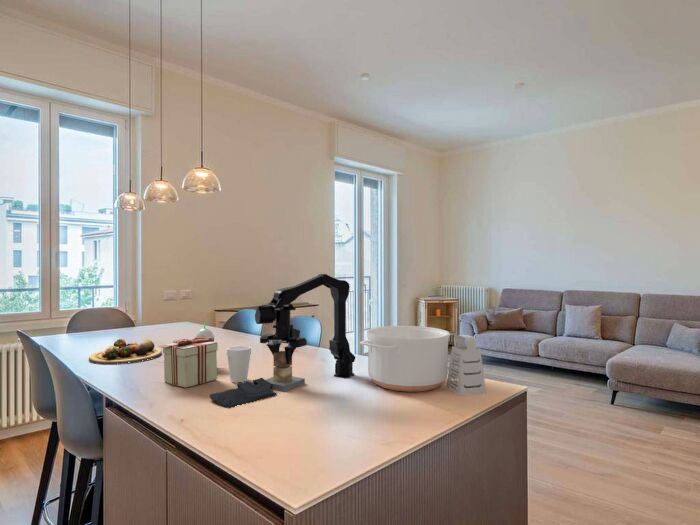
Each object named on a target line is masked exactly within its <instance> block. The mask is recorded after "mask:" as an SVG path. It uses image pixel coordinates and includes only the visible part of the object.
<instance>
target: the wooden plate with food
mask: <svg viewBox="0 0 700 525" xmlns="http://www.w3.org/2000/svg"><path fill="white" fill-rule="evenodd" d="M162 353H163V350H162V349H160V347H155V344H154V342H153V341H152V340H150V339H148V338H146V339H145V340H144V341H143V342H142V343H140V344H139V343H137V342H130V343H126V340H125V339H124V338H119V339H117V340H116V341H114V343H113V345H110V346H107V347H106V348H105V350H100V351H96V352H94V353H92V354H90V356H89V358H88V361H89V362H90V363H92V362H93V364H96V363H101V364H100V365H118V364H117V363H127V364H129V363H128V362H136V363H138V362H137V361H142V360H147V359H151V358H154V359H156V358H155V357H157V356H159V357H160V356H161V355H162ZM157 358H158V357H157ZM151 360H152V359H151ZM147 361H148V360H147ZM142 362H143V361H142Z"/></svg>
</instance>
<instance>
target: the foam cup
mask: <svg viewBox="0 0 700 525" xmlns="http://www.w3.org/2000/svg"><path fill="white" fill-rule="evenodd" d="M251 354H252V347H251V346H249V345H233V346H229V347H228V346H227V347H226V356H227V361H228V372H229V378H230V379H229V380H230V382H231V383H233V382H241V383H245V382H247V381H248V374H249V368H250V362H251V361H250V360H251ZM244 381H245V382H244Z"/></svg>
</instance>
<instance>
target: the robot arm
mask: <svg viewBox="0 0 700 525" xmlns="http://www.w3.org/2000/svg"><path fill="white" fill-rule="evenodd" d="M321 286H324V287H325V288H328V289H329V290H330V296H331V298H332V301H333V312H334V313H333V328H334V331H333V332H334V333H333V334H334V335H333V338H332V339H329V348H328V350H329V351H330V354H331V355H332V356H333V358H334V360H335V365H334V368H335V369H334V374H333V376H334V377H338V378H345V379H347V378H350V377H352V376H354V375H355V373H354V372H353V371H354V370H353V363H354V362H355V360H356V356H355V355H354V353H352V352H351V348H350V343H349V341H348V338H347V326H346V325H347V324H346V323H347V317H346V315H347V314H346V313H347V311H346V310H347V309H346V308H347V307H346V306H347V299H348V297H349V295H350V288H351V287H350V286H351V285H350V283H349V282H348V281H346V280H343V279H338V278H335V277H332V276H331V275H329V274H327V273H319V274H318V275H316V276H314V277H312V278H310V279H309V278H308V279H307V280H304V281H303V282H300V283H298V284H296V285H294V286H293V285H292V286H288V287H283V288H279V289H277V290H275V291H274V293H273V297H272V299H271V300H270V302H269V303H268V305H257V306H256V309H255V314H254V320H255V323H256V324H257V325H265V324H273V323H274V322H275V323H274V325H273V326H272V328H273V329H274V330H275V334H273V333H268V334H263V335H261V336H260V338H259V343H260V344H265V346H267V348H268V349H269V351H270V352H271V355H272V357H274V353H276V352H279V351H280V348H281V345H282V343H283V344H287V346H284V348H283V349H284V351H285V355H286V361H287V364H289V363H290V361H291V358H292V359H293V354H294V352H295V350H296V349H297V348H302V347H305V346H307V342H308V340H307V339H306V337H301V336H300V335H301V330H299V329H296V328H294V326H293V324H291V311H296V307H295V306H294V305H293V302H294V301H295V300H296V299H298V298H299V297H300V296H302V295H304V294H306V293H308V292H310V291H312V290H315V289H317V288H319V287H321Z"/></svg>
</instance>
